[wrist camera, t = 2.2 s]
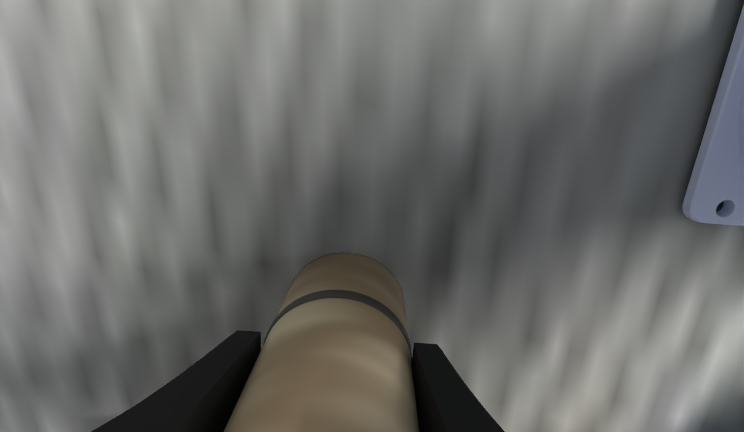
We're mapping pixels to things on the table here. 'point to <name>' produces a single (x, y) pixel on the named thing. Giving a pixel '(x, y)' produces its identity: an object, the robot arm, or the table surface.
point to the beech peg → (334, 355)
